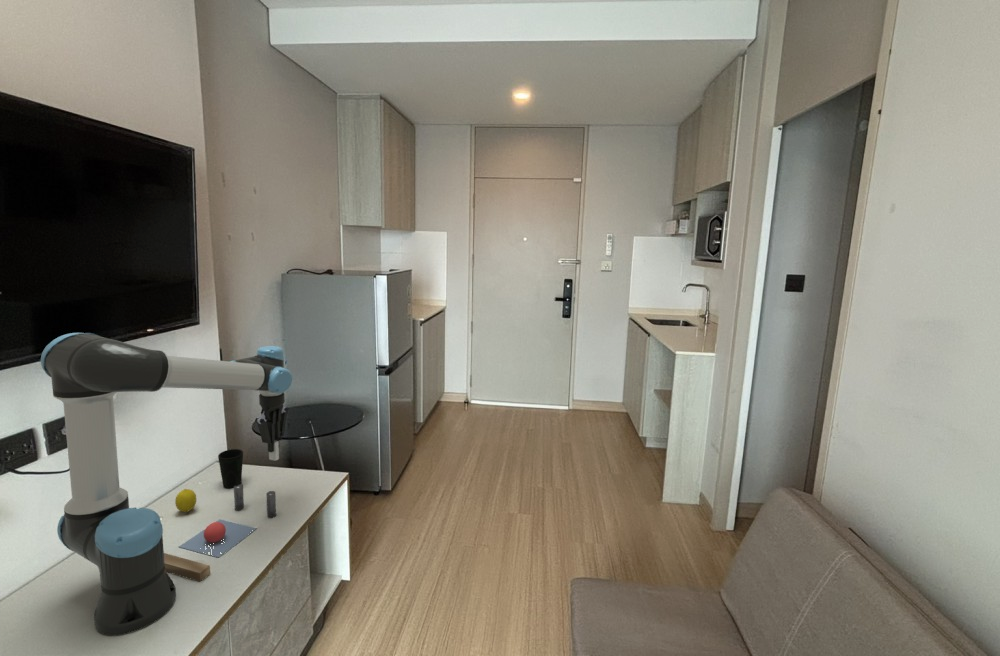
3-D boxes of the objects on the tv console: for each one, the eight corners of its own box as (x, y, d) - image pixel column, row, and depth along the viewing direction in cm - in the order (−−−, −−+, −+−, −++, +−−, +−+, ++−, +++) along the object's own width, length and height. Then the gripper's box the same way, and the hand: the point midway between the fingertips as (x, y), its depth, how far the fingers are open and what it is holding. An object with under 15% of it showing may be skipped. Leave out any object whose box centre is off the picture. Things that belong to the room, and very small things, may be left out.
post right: (272, 518, 145) (271, 495, 143) (265, 517, 145) (264, 494, 144) (278, 514, 147) (277, 491, 146) (271, 512, 148) (270, 490, 146)
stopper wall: (200, 581, 117) (199, 573, 117) (140, 564, 122) (139, 556, 121) (210, 573, 120) (209, 565, 119) (151, 557, 125) (150, 549, 124)
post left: (239, 511, 148) (238, 488, 146) (232, 509, 148) (231, 487, 147) (245, 507, 150) (244, 484, 149) (239, 505, 151) (238, 483, 149)
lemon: (201, 508, 148) (199, 485, 147) (188, 517, 143) (186, 494, 141) (185, 506, 149) (183, 483, 147) (171, 516, 143) (170, 492, 142)
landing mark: (218, 558, 126) (218, 557, 126) (178, 547, 129) (178, 546, 129) (257, 528, 139) (257, 528, 139) (219, 519, 143) (219, 519, 143)
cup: (221, 481, 165) (219, 450, 163) (245, 478, 168) (243, 447, 166) (218, 492, 158) (216, 460, 156) (243, 488, 161) (242, 456, 159)
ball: (226, 520, 133) (232, 531, 135) (210, 516, 134) (217, 527, 137) (211, 536, 128) (218, 548, 131) (195, 532, 129) (203, 544, 132)
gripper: (276, 385, 157) (278, 449, 161) (246, 397, 144) (249, 465, 148) (295, 388, 155) (296, 452, 159) (266, 400, 142) (269, 469, 147)
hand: (274, 459), depth 154 cm, fingers closed
